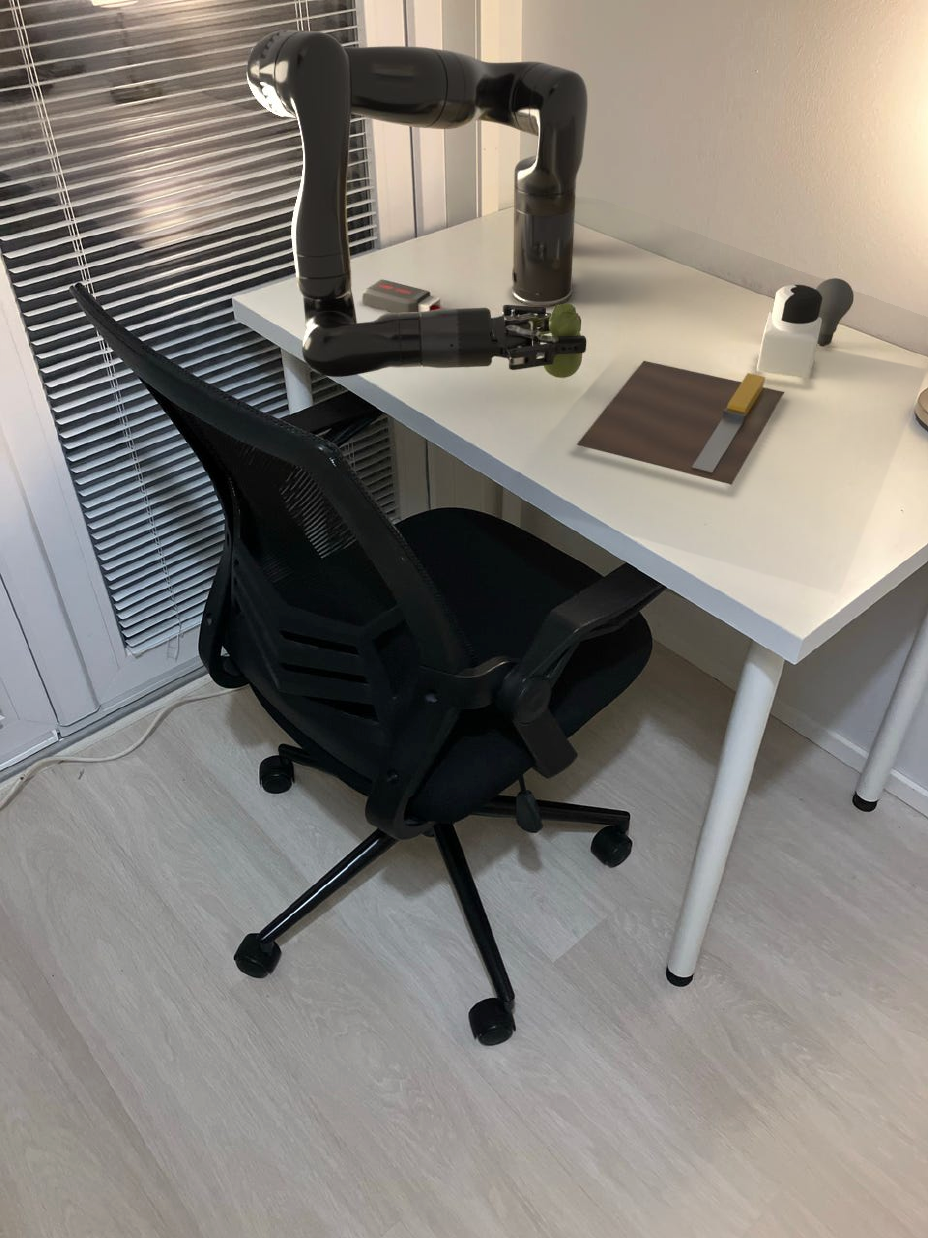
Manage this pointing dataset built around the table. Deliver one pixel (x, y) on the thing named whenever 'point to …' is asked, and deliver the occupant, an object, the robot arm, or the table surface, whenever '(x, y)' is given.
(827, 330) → the light bulb
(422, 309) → the usb drive
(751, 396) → the knife
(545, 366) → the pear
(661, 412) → the cutting board
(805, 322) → the medicine bottle
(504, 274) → the table surface
